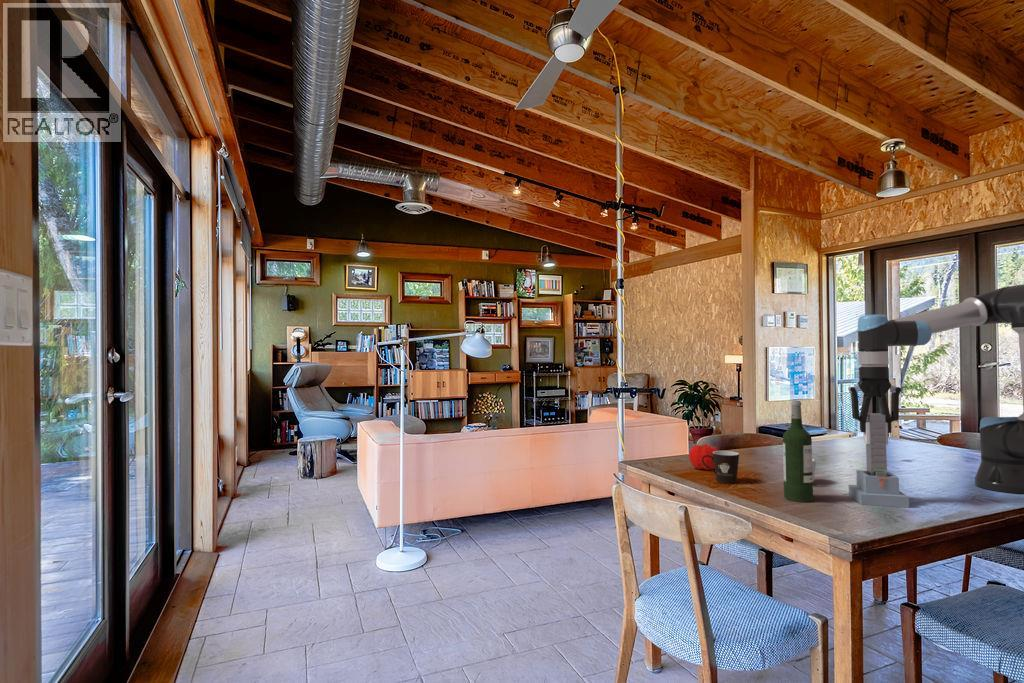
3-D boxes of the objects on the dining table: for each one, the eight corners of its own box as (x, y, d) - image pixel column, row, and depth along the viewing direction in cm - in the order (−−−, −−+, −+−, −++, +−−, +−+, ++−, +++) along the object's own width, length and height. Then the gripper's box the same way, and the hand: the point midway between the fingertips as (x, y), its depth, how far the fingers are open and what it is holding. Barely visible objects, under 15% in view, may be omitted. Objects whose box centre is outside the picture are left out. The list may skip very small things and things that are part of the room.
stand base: (893, 496, 165) (892, 466, 165) (909, 507, 153) (908, 475, 154) (848, 494, 168) (847, 464, 168) (861, 504, 157) (860, 473, 157)
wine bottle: (815, 503, 159) (812, 402, 159) (785, 501, 161) (783, 401, 162) (810, 496, 166) (808, 399, 167) (782, 494, 169) (780, 399, 170)
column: (882, 479, 162) (880, 413, 163) (888, 482, 158) (886, 415, 158) (867, 478, 163) (865, 413, 164) (872, 482, 159) (870, 414, 159)
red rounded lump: (718, 473, 200) (717, 448, 200) (685, 469, 207) (685, 446, 207) (724, 467, 209) (723, 444, 209) (692, 464, 216) (692, 442, 216)
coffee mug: (745, 482, 185) (744, 453, 185) (730, 486, 180) (729, 456, 181) (715, 476, 195) (715, 448, 195) (700, 479, 190) (700, 451, 190)
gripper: (901, 365, 163) (904, 442, 162) (837, 365, 168) (840, 440, 167) (912, 366, 156) (914, 446, 155) (845, 366, 161) (847, 444, 160)
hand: (875, 443), depth 161 cm, fingers closed on column, 4 cm apart
